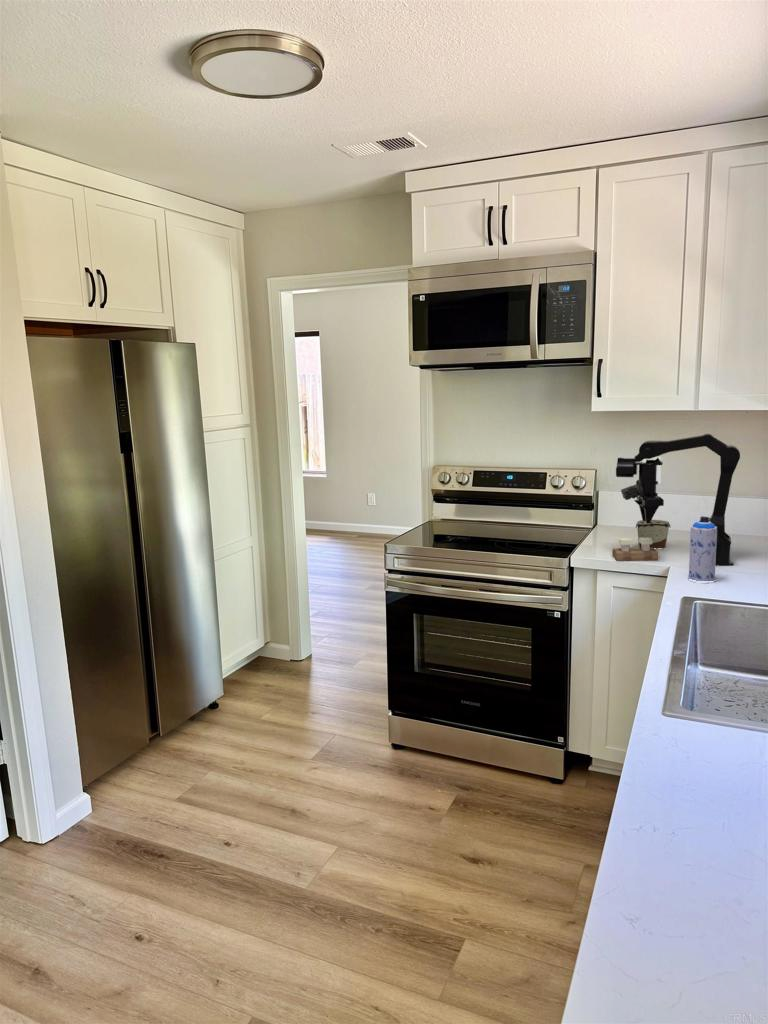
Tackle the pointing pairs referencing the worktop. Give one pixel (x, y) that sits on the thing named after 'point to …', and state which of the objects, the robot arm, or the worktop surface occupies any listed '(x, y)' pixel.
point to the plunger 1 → (625, 543)
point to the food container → (654, 532)
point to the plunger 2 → (645, 543)
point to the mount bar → (635, 554)
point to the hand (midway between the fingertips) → (646, 522)
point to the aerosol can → (702, 550)
